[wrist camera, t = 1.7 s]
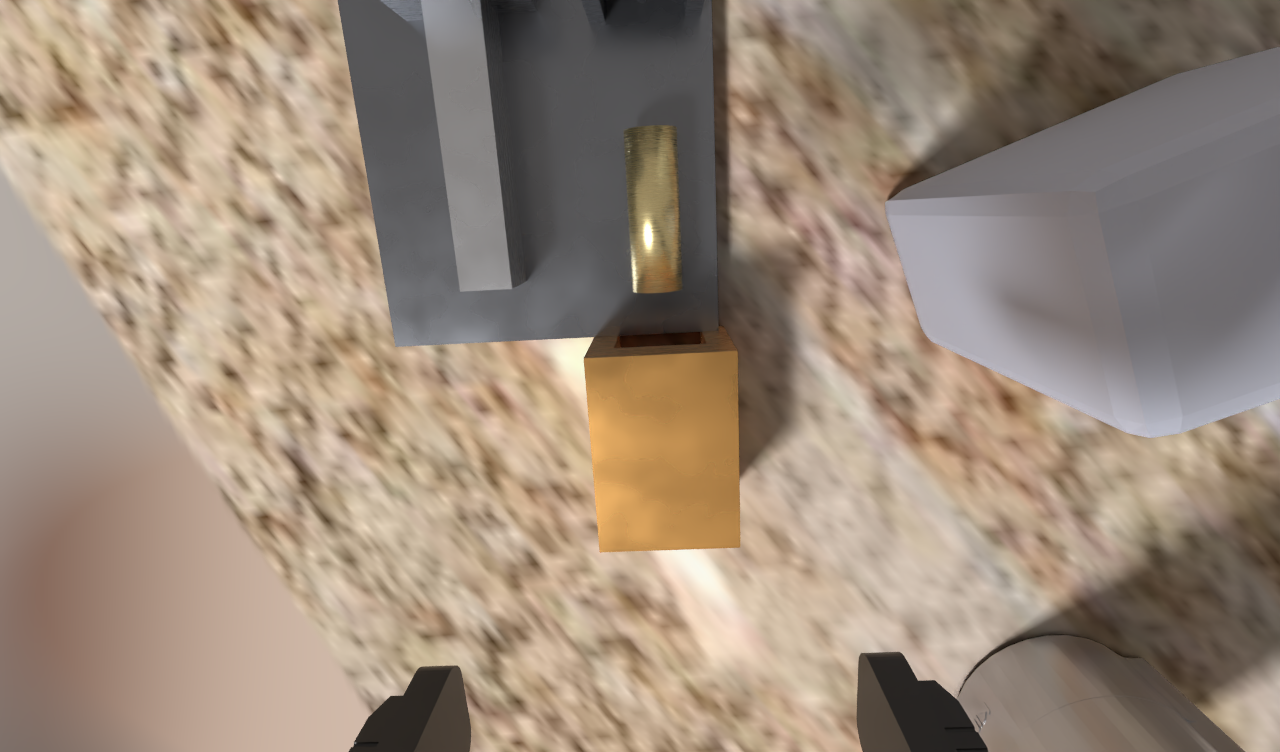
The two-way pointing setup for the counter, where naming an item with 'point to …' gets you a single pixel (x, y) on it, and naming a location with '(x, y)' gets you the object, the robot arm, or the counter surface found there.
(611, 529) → the block
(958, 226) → the soap bottle
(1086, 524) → the counter surface
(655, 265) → the pin
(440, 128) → the stand
